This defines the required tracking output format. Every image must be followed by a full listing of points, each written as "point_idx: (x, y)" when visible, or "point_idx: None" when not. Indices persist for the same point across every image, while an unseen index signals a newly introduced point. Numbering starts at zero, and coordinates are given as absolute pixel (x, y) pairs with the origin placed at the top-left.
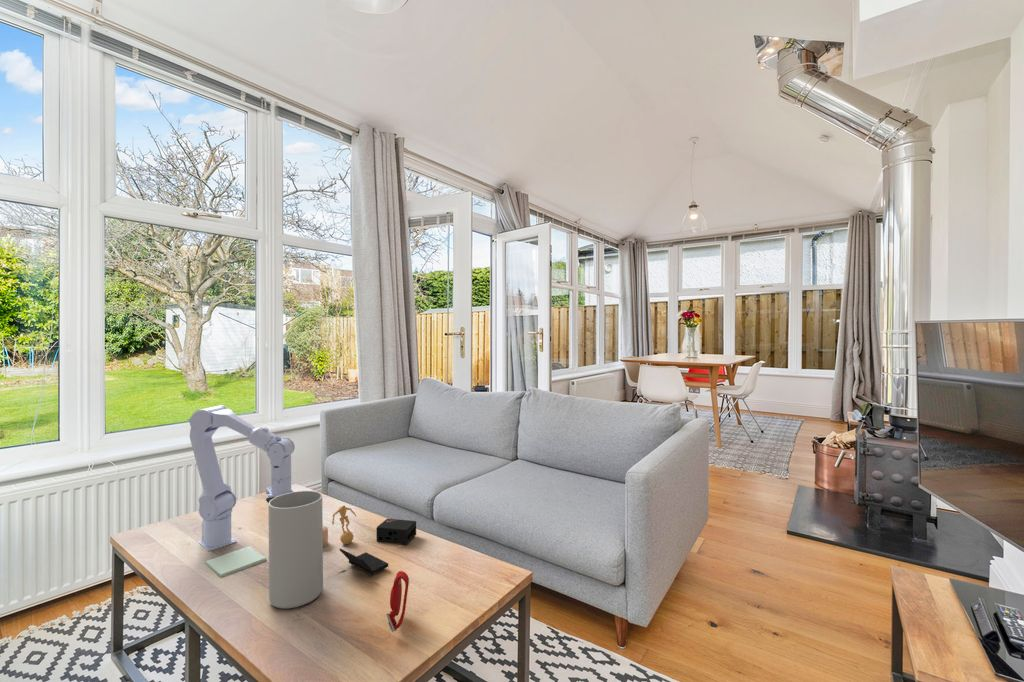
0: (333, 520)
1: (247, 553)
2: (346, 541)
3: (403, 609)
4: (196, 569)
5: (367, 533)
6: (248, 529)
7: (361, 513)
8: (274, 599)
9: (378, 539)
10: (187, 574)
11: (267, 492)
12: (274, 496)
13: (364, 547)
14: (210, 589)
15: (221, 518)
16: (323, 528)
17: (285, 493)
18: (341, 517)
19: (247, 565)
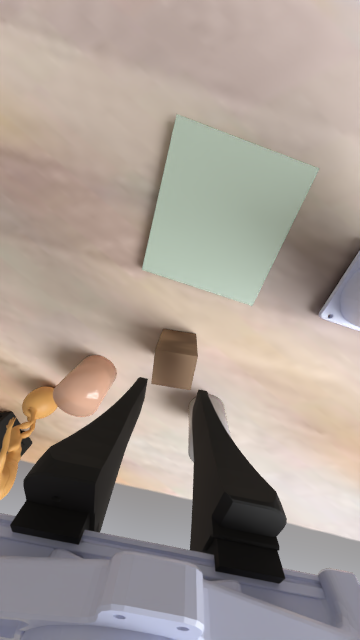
0: (5, 433)
1: (217, 268)
2: (33, 390)
3: None
4: (316, 132)
5: (59, 431)
6: (345, 384)
7: (145, 485)
8: None
9: (2, 415)
10: (321, 84)
11: (345, 604)
12: (102, 575)
13: (8, 388)
14: (139, 37)
15: None
16: (74, 408)
17: (14, 638)
18: (13, 452)
19: (155, 214)
